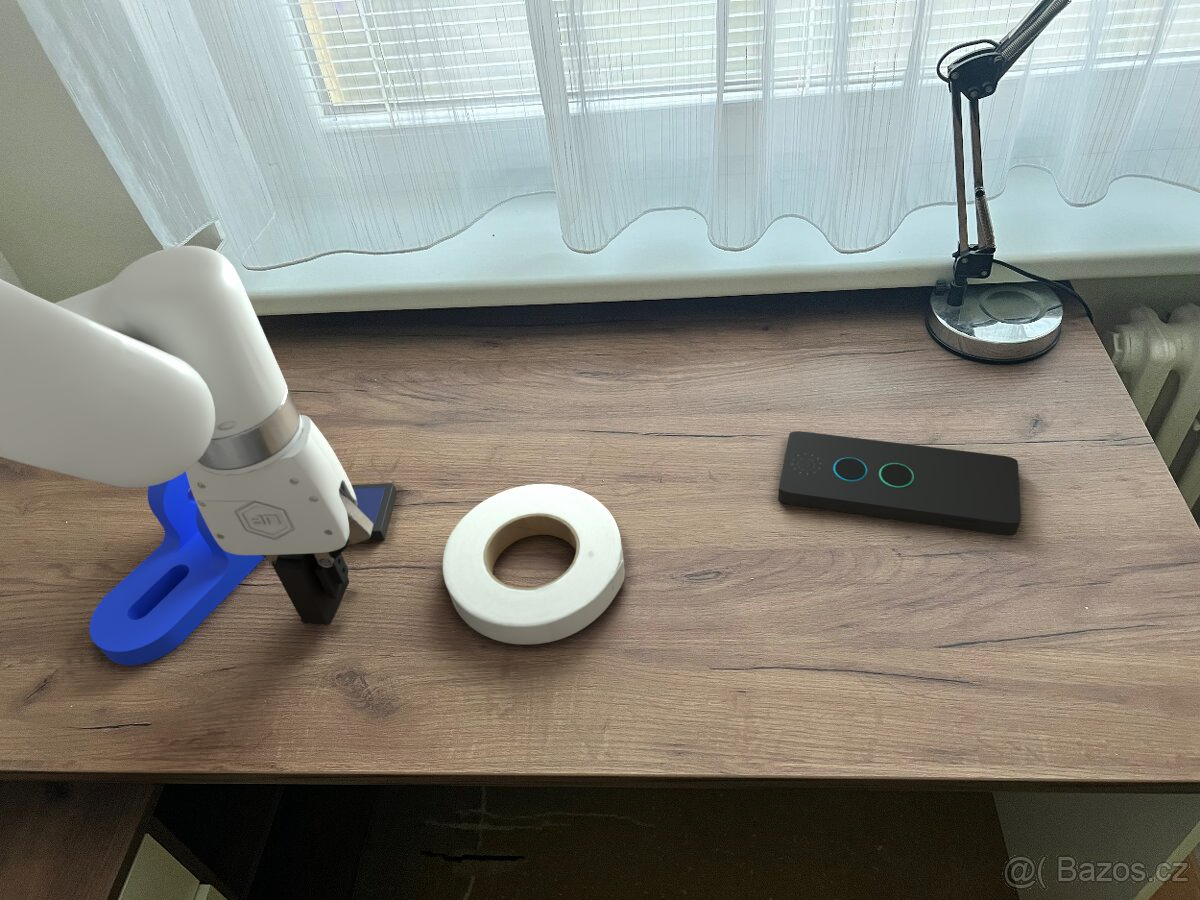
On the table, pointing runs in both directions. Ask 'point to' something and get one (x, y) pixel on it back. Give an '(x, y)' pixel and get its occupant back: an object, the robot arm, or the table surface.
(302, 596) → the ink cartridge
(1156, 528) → the table surface
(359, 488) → the ink pad
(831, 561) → the table surface
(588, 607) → the tape roll
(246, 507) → the robot arm
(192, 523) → the bracket
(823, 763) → the table surface
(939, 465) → the smart home device
